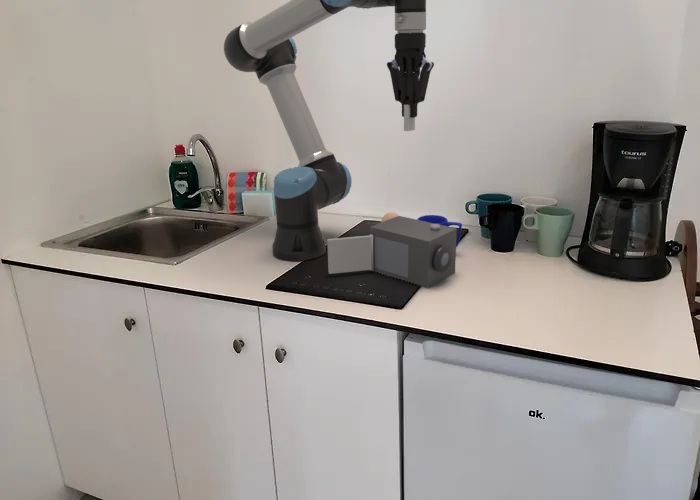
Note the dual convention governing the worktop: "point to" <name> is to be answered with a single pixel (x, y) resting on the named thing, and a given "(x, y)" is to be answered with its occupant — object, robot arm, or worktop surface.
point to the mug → (441, 222)
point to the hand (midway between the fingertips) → (409, 130)
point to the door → (350, 254)
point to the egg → (389, 216)
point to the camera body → (414, 250)
